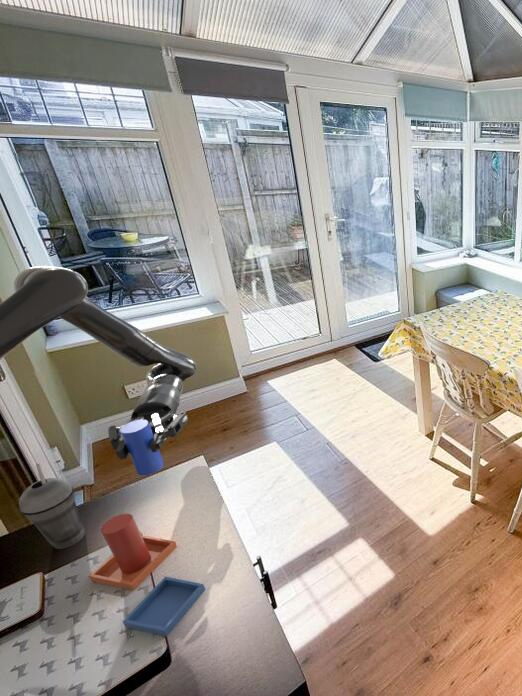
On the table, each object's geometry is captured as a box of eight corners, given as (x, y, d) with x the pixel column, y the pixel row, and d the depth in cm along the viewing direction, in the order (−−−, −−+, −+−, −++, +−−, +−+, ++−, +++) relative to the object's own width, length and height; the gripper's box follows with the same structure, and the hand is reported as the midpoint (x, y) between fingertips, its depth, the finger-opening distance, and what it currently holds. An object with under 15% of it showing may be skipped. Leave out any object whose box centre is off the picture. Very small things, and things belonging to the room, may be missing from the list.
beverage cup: (56, 531, 86) (14, 457, 78) (101, 520, 89) (64, 448, 81) (36, 562, 80) (-12, 485, 72) (85, 549, 83) (44, 474, 75)
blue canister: (131, 473, 86) (113, 431, 82) (151, 459, 90) (135, 418, 86) (150, 477, 85) (133, 434, 81) (169, 462, 89) (154, 420, 85)
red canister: (115, 572, 78) (94, 531, 74) (137, 551, 82) (118, 511, 78) (135, 576, 78) (115, 535, 73) (156, 554, 82) (138, 515, 77)
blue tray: (126, 629, 70) (122, 621, 69) (168, 583, 77) (165, 576, 77) (167, 638, 69) (163, 631, 68) (206, 591, 76) (203, 583, 76)
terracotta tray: (92, 583, 77) (88, 576, 76) (139, 540, 85) (136, 533, 84) (134, 592, 76) (131, 585, 75) (177, 548, 84) (174, 541, 83)
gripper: (112, 399, 92) (83, 447, 78) (190, 385, 98) (176, 427, 84) (123, 426, 95) (97, 477, 81) (198, 411, 101) (186, 456, 87)
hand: (137, 451), depth 83 cm, fingers closed on blue canister, 4 cm apart
